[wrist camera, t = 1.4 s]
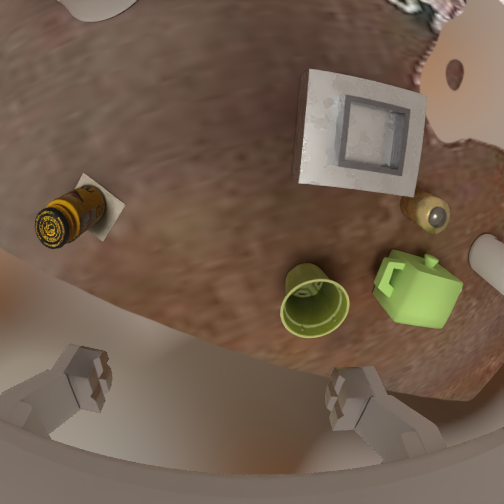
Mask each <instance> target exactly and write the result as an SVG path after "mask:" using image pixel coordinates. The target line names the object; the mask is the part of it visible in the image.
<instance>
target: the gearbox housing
mask: <svg viewBox="0 0 504 504" xmlns="http://www.w3.org/2000/svg"><path fill="white" fill-rule="evenodd" d="M426 102H427V96H425V95H422V94H419V93H416V92H412V91H409V90H406V89H402V88H399V87H395V86H391V85H387V84H384V83H380V82H376V81H371V80H367V79H363V78H358V77H353V76H349V75H344V74H338V73H333V72H327V71H321V70H315V69H308V70H307V71H306V72H304V73H303V74H302V75H301V76H300V87H299V99H298V111H297V122H296V133H295V144H294V154H293V164H292V174H291V175H292V176H293V177H294V178H295V179H296V181H297V182H298V183H303V184H313V185H323V186H332V187H341V188H349V189H358V190H365V191H373V192H380V193H387V194H394V195H401V196H408V197H414V192H415V187H416V181H417V175H418V169H419V163H420V156H421V149H422V141H423V133H424V124H425V114H426Z"/></svg>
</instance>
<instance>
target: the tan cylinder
mask: <svg viewBox="0 0 504 504" xmlns="http://www.w3.org/2000/svg"><path fill="white" fill-rule="evenodd" d="M400 208H401V211H402V213H403V214H404V216H406V217H407V218H409V219H410V220H412V221H413V222H414V223H416V224H417V225H419V226H420V227H421V228H423V229H424V230H426V231H427V232H429V233H431V234H437V233H439V232H441V231H442V230H444V229H445V227H446V226H447V224H448V222H449V219H450V209H449V206H448V204H447V203H446V202H445V201H443V200H441V199H439V198H437V197H435V196H433V195H431V194H429V193H427V192H425V191H423V190H421V189H419V188H415V192H414V197H408V196H402V198H401V201H400Z"/></svg>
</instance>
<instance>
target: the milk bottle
mask: <svg viewBox="0 0 504 504" xmlns="http://www.w3.org/2000/svg"><path fill="white" fill-rule="evenodd" d="M469 263H470V266H471V268H472V269H473V270H474V271H475V272H477V273H478V274H479V275H480V276H481V277H483V278H484V279H485V280H486V281H487V282H489V283H490V284H491V285H492V286H493V287H494V288H496V289H497V290H498V291H499V292H500V293H502V294H503V295H504V242H502V241H501V240H499V239H498V238H496V237H494V236H493V235H491V234H483V235H481V236H479V237H478V238H477V239H476V240H475V241H474V243H473V244H472V246H471V249H470V252H469Z"/></svg>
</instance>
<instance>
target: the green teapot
mask: <svg viewBox="0 0 504 504" xmlns="http://www.w3.org/2000/svg"><path fill="white" fill-rule="evenodd" d="M438 261H439V260H438V259H437V258H435V257H434V256H432V255H429V254H425V256H424V258H422V257H419V256H415V255H412V254H408V253H405V252H402V251H398V250H394V249H392V250H391V252H390V254H389V256H388V258H386V257H384V259H383V261H382V264H381V266H380V269H379V271H378V273H377V276H376V278H375V280H374V284H375V287H374V290H373V293H372V294H373V295H374V296H375V298H376V299H377V300H378V302H379V303H380V304H381V305H382V307H383V308H384V309H385V311H386V312H387V313H388V314H389V316H390V317H391V318H392V320H393V321H394V322H397V323H403V324H409V325H415V326H422V327H430V328H439V329H442V327H443V326H444V324H445V323H446V321H447V319H448V317H449V315H450V313H451V311H452V309H453V307H454V305H455V303H456V301H457V298H458V296H459V293H460V292H462V286H463V283H462V282H461V281H460V280H459V279H457V278H456V277H455V276H454V275H452V274H451V273H450V272H448V271H447V270H446V269H444V268H443V267H442V266H440V265H439V264H438Z"/></svg>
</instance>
